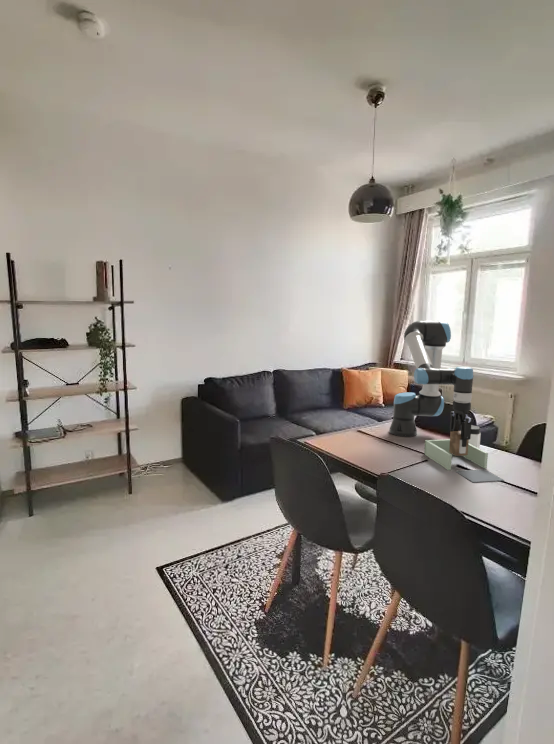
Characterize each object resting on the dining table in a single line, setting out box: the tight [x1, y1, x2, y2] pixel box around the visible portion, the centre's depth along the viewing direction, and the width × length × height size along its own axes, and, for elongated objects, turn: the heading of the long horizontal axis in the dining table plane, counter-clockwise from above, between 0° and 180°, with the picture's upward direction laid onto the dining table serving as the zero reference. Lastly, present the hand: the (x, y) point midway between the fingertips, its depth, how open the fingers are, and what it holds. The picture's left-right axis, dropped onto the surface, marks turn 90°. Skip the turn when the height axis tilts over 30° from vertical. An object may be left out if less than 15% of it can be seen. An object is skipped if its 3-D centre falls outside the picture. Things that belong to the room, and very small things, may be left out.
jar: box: [469, 424, 482, 449], centre depth 204 cm, size 9×8×12 cm
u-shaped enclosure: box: [423, 438, 489, 471], centre depth 189 cm, size 21×18×7 cm
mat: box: [455, 468, 505, 484], centre depth 171 cm, size 12×14×1 cm
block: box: [449, 430, 469, 457], centre depth 185 cm, size 5×6×10 cm
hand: (458, 451), depth 186 cm, fingers closed on block, 5 cm apart
